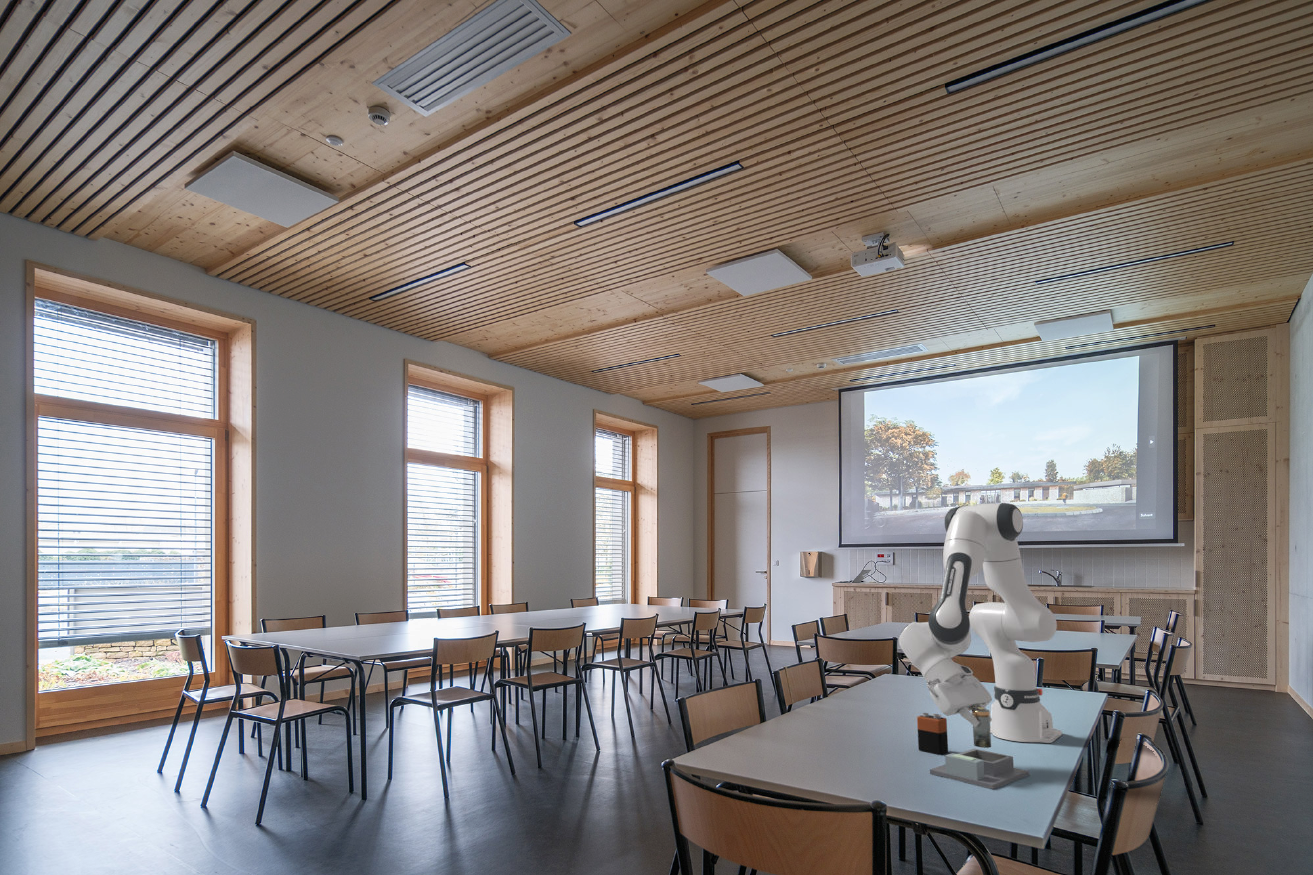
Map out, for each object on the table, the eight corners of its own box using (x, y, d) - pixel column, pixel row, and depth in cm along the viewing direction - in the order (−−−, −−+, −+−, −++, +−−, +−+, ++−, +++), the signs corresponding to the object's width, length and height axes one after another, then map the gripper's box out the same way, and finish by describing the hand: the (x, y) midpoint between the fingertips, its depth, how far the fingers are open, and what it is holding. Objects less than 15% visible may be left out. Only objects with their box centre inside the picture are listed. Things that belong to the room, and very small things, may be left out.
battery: (941, 755, 204) (939, 716, 206) (917, 750, 209) (916, 712, 211) (948, 752, 207) (947, 714, 208) (925, 747, 212) (924, 710, 213)
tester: (967, 761, 198) (966, 740, 199) (1029, 775, 186) (1027, 753, 187) (930, 773, 187) (929, 751, 188) (993, 789, 175) (991, 765, 176)
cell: (978, 742, 192) (976, 705, 193) (994, 746, 189) (992, 707, 190) (970, 745, 189) (968, 707, 191) (986, 748, 186) (984, 709, 188)
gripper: (931, 673, 190) (970, 721, 182) (972, 667, 203) (1011, 710, 194) (916, 689, 193) (954, 737, 184) (958, 682, 206) (995, 726, 197)
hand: (983, 723), depth 189 cm, fingers closed on cell, 4 cm apart
